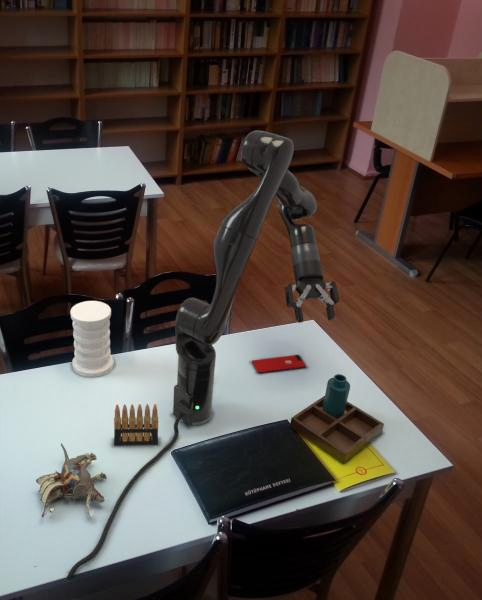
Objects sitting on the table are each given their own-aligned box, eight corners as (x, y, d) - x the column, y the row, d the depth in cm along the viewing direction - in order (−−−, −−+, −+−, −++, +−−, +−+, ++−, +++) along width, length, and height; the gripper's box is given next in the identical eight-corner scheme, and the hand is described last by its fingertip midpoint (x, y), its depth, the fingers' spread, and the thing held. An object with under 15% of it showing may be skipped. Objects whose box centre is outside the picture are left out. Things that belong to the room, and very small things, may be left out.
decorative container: (80, 350, 181) (77, 297, 172) (118, 355, 180) (117, 302, 171) (66, 373, 171) (62, 319, 162) (106, 379, 170) (105, 324, 161)
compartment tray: (343, 463, 147) (345, 454, 146) (289, 426, 157) (291, 417, 156) (381, 432, 157) (384, 423, 156) (329, 400, 168) (330, 391, 166)
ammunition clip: (113, 445, 148) (112, 407, 142) (114, 440, 149) (113, 401, 143) (158, 444, 149) (159, 406, 143) (158, 439, 150) (159, 401, 144)
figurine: (127, 483, 131) (59, 527, 120) (126, 501, 134) (60, 545, 124) (73, 430, 142) (7, 466, 132) (74, 448, 146) (9, 484, 135)
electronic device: (258, 373, 176) (306, 367, 180) (258, 371, 176) (306, 365, 180) (251, 361, 181) (298, 355, 185) (251, 360, 181) (298, 354, 185)
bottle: (335, 422, 159) (342, 387, 153) (317, 411, 162) (324, 376, 156) (348, 413, 162) (355, 378, 156) (330, 402, 165) (337, 368, 160)
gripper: (286, 259, 161) (295, 319, 157) (336, 257, 164) (346, 315, 161) (277, 268, 168) (286, 326, 164) (325, 266, 172) (335, 322, 168)
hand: (316, 321), depth 163 cm, fingers open, 8 cm apart
